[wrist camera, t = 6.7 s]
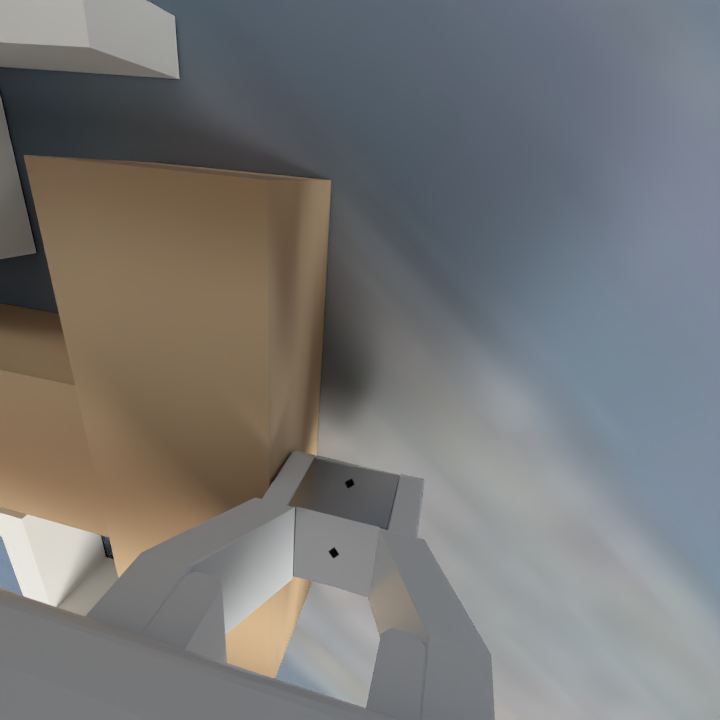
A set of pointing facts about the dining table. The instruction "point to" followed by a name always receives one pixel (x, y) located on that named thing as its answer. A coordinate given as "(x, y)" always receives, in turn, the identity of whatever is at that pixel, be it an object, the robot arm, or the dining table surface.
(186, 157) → the dining table surface
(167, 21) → the t socket
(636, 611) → the dining table surface
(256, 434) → the t block
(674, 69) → the dining table surface
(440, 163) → the dining table surface
